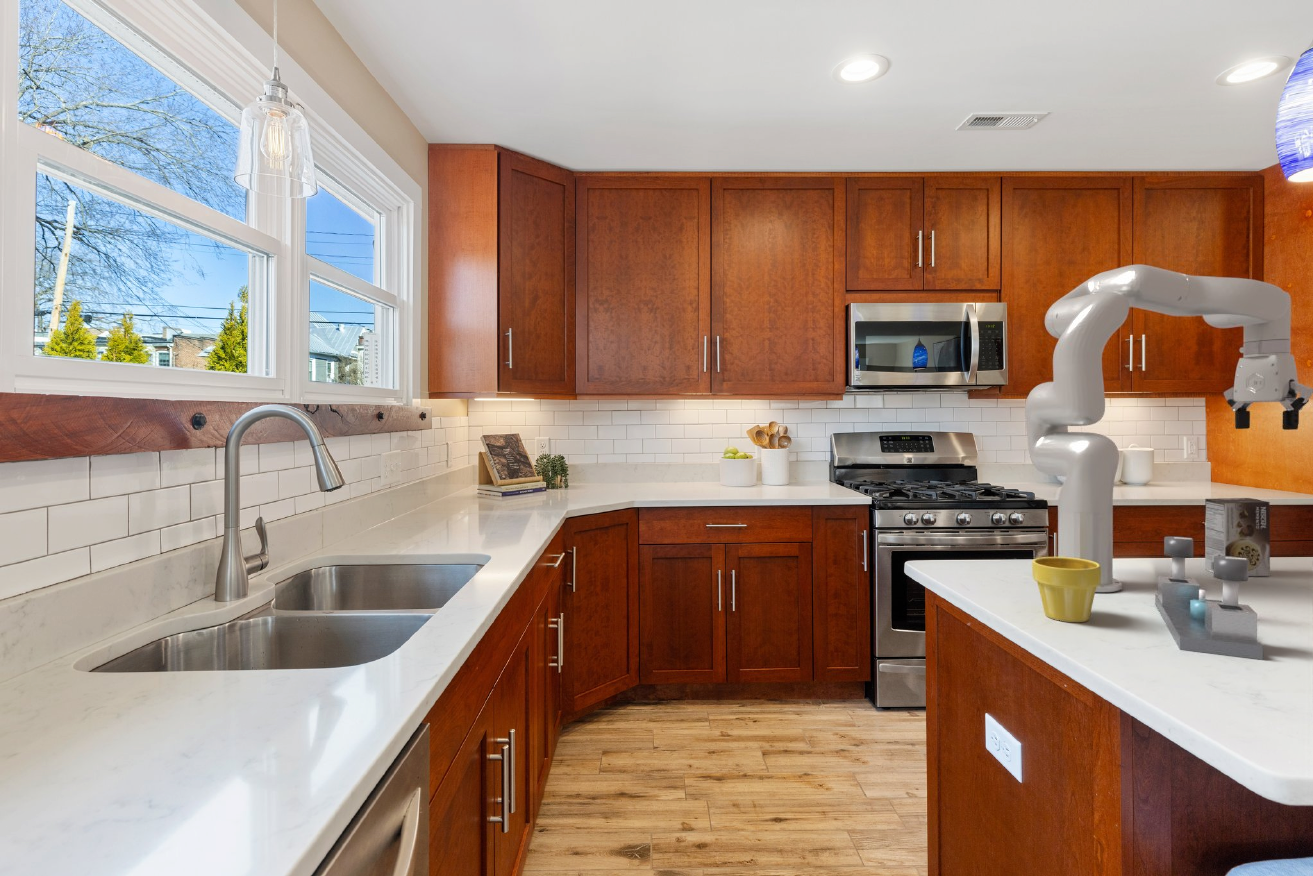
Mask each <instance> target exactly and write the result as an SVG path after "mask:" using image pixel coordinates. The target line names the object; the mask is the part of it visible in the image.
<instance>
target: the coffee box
mask: <svg viewBox="0 0 1313 876" xmlns="http://www.w3.org/2000/svg"><path fill="white" fill-rule="evenodd" d="M1204 500H1205V504H1204V506H1205V512H1204V513H1205V514H1204V515H1205V517H1204V519H1205V520H1204V521H1205V527H1204V528H1205V530H1204V531H1205V532H1204V533H1205V539H1204V540H1205V541H1204V543H1205V552H1204V553H1205V555H1204V557H1205V558H1204V559H1205V564H1204V565H1205V569H1208V570H1211V571H1213V572H1214V556H1233V557H1240V558H1246V559H1247V560H1248V577H1270V576H1271V559H1270V558H1271V541H1270V540H1271V537H1270V536H1271V529H1270V523H1271V520H1270V519H1271V517H1270V514H1271V513H1270V511H1271V510H1270V509H1271V508H1270V503H1271V502H1270V501H1266V500H1265V501H1264V500H1260V499H1257V498H1250V497H1231V498H1228V497H1227V498H1225V497H1224V498H1222V497H1220V498H1205V499H1204ZM1213 572H1212V573H1213Z"/></svg>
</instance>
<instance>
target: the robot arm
mask: <svg viewBox="0 0 1313 876" xmlns="http://www.w3.org/2000/svg"><path fill="white" fill-rule="evenodd" d="M1291 298H1292V297H1291V295H1290V293H1289V292H1287V291H1284V290H1283V289H1282V288H1281V287H1280V286H1277V285H1275V284H1272V283H1269V282H1265V281H1261V280H1257V279H1250V278H1241V277H1225V276H1224V277H1222V276H1204V275H1190V274H1185V273H1181V272H1177V271H1173V270H1169V269H1164V268H1161V267H1156V266H1152V265H1148V264H1147V265H1146V264H1140V263H1139V264H1131V265H1126V266H1121V267H1118V268H1114V269H1111V270H1107V271H1103V272H1100V273H1098V274H1096V275H1094V276H1091V277H1090V278H1089V279H1087V280H1085V281H1083V283H1081V284H1080V285H1078V286H1077V287H1075V288H1073V289H1072V290H1071V291H1070V292H1068V293H1067V294H1065V295H1064V296H1062V297H1061V298H1059V299H1057V301H1055V302H1054V303H1053V304H1052V305H1051V306H1050V307H1049V308H1048V310H1047V311H1046V313H1045V317H1044V325H1045V328H1046V331H1047V332H1048V333H1049V334H1050V335H1051V336H1052V337H1053V338H1056V339H1058V341H1057V343H1056V344H1055V348H1054V351H1053V356H1052V357H1053V358H1052V371H1053V373H1052V374H1053V376H1052V377H1053V378H1052V379H1053V381H1047V382H1042V383H1040V384H1038V385H1036V386H1035V387H1033V389H1031V391H1030V392H1029V394H1028V396H1027V397H1026V400H1025V406H1024V416H1025V426H1026V436H1027V445H1028V446H1027V447H1028V453H1029V458H1030V460H1031V463H1032V465H1033V467H1034V468H1035V469H1036V470H1037V471H1038V472H1040V473H1041V474H1042V473H1043V474H1045V475H1050V476H1057V477H1065V480H1064V483H1063V484H1062V486H1061V488H1060V490H1059V494H1058V497H1057V498H1058V499H1057V557H1069V558H1078V559H1085V560H1089V561H1093V562H1096V563H1098V564H1099V565H1100V567H1101V583H1100V585H1099V586H1096V591H1095V593H1113V592H1118V591H1121V590H1122V588H1123V583H1122V582H1121V581H1120V580H1119V579H1116V578H1113V575H1114V574H1113V570H1114V569H1113V565H1114V564H1113V563H1114V561H1113V559H1114V558H1113V557H1114V556H1113V552H1114V551H1113V549H1114V548H1113V542H1114V541H1113V538H1114V537H1113V536H1114V535H1113V534H1114V531H1113V530H1114V529H1113V528H1114V526H1113V521H1114V520H1113V515H1114V514H1113V513H1114V511H1113V509H1114V507H1113V506H1114V505H1113V504H1114V502H1113V501H1114V487H1115V479H1116V476H1117V473H1118V468H1119V467H1118V466H1119V461H1120V453H1119V448H1118V447H1117V445H1116V443H1115V442H1114V441H1113V440H1112V439H1111V438H1109V437H1107V436H1106V435H1104V434H1101V433H1096V432H1087V431H1086V432H1085V431H1082V432H1081V431H1069V429H1068V428H1069V427H1082V426H1083V427H1084V426H1092V425H1094V424H1096V423H1099V422H1100V421H1101V420H1102V419H1103V417H1104V416H1105V413H1106V411H1105V410H1106V399H1105V398H1106V396H1105V395H1106V394H1105V387H1104V385H1105V384H1104V376H1103V374H1104V373H1103V361H1102V359H1103V358H1102V357H1103V353H1104V349H1105V346H1107V345H1106V344H1107V343H1108V341H1109V339H1110V338H1111V337H1112V336H1113V334H1115V332H1116V331H1117V330H1119V328H1120V327H1121V326H1123V324H1124V323H1125V321H1126V320H1127V318H1128V315H1129V311H1130V308H1138V309H1141V310H1146V311H1152V312H1155V313H1160V314H1163V315H1168V316H1172V317H1199V316H1201V317H1202V318H1203V320H1204V322H1205V323H1207V324H1208V325H1209V326H1211V327H1212V328H1213V327H1214V328H1218V329H1230V328H1239V327H1243V346H1242V347H1240V348H1239V352H1240V353H1241V354H1243V357H1240V358H1239V359H1238V362H1237V365H1236V370H1235V374H1234V375H1235V376H1234V384H1233V386H1232V387H1230V388H1228V389H1226V390H1225V391H1224V392H1223V395H1224V397H1225V400H1226V401H1227V402H1226V403H1227V404H1228V405H1229V407H1231V410H1232V411H1233V412H1234V425H1235V429H1236V430H1243V429H1244V430H1247V429H1250V427H1251V411H1250V410H1248V409H1249V407H1251V406H1252V405H1253V403H1275V402H1276V403H1280V404H1281V405H1282V406H1283V408H1284V409H1285V410H1283V411H1282V430H1284V431H1285V430H1286V431H1289V430H1291V431H1293V430H1294V431H1295V430H1298V429H1299V424H1300V420H1299V419H1300V411H1302V410H1303V408H1304V407H1305V406H1306V405H1307V404H1308V403H1309V399H1310V398H1311V396H1312V395H1313V388H1311V387H1309V386H1307V385H1304V384H1302V383H1300V382H1299V380H1298V370H1297V365H1296V360H1295V357H1294V354H1291V321H1292V317H1291V316H1292V299H1291ZM1298 394H1299V395H1298Z"/></svg>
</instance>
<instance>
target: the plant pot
mask: <svg viewBox="0 0 1313 876" xmlns="http://www.w3.org/2000/svg"><path fill="white" fill-rule="evenodd" d="M1031 563H1032V564H1031V565H1032V566H1031V567H1032V579H1033V580H1034V581H1035V582H1037V583H1036V584H1037V586H1038V591H1039V594H1040V598H1041V599H1040V600H1041V603H1042V606H1043V607H1042V608H1043V611H1044V615H1045V616H1046V617H1047V618H1049V619H1052V620H1054V619H1055V620H1056V621H1059V620H1060V622H1066V623H1084V622H1085V623H1086V622H1088V621H1089V619H1090V617H1091V612H1092V608H1093V603H1094V599H1095V595H1096V592H1095V591H1096V586H1099V585H1100V583H1101V567H1100V565H1099V564H1098V563H1096V562H1093V561H1089V560H1085V559H1078V558H1069V557H1058V556H1044V557H1036V558H1034V559H1032V562H1031Z"/></svg>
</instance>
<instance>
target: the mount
mask: <svg viewBox="0 0 1313 876" xmlns="http://www.w3.org/2000/svg"><path fill="white" fill-rule="evenodd" d="M1200 589H1201V584H1199V583H1198V581H1197V580H1196V579H1195V578H1186V577H1185V579H1175V578H1172V576H1160V575H1158V576H1157V594H1154V599H1155V600H1154V602H1155V603H1154V606H1155V605H1156V606H1155V607H1157V608H1156V609H1157V611H1158V613H1159V612H1160V613H1159V615H1160V614H1161V615H1160V617H1161V619H1162V620H1163V622H1164V624H1165V623H1166V624H1165V625H1166V628H1167V629H1168V631H1169V632H1170V634H1171V636H1172V638H1173V640H1174V642H1175V643H1176V645H1177V647H1178V648H1179V650H1180V651H1187V652H1188V651H1190V652H1198V653H1205V654H1213V655H1220V656H1229V657H1237V658H1246V659H1251V660H1252V659H1253V660H1260V661H1263V651H1264V650H1263V648H1264V647H1263V645H1262V644H1261V643H1260V642H1259V641H1258V613H1257V612H1256V611H1255V610H1254V609H1253V608H1252V607H1250V605H1249V604H1242V603H1241V604H1240V603H1238V606H1231V605H1225V604H1223V600H1217V599H1207V598H1205V620H1203V619H1197V618H1193V617H1191V616H1190V600H1199V590H1200Z"/></svg>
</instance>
